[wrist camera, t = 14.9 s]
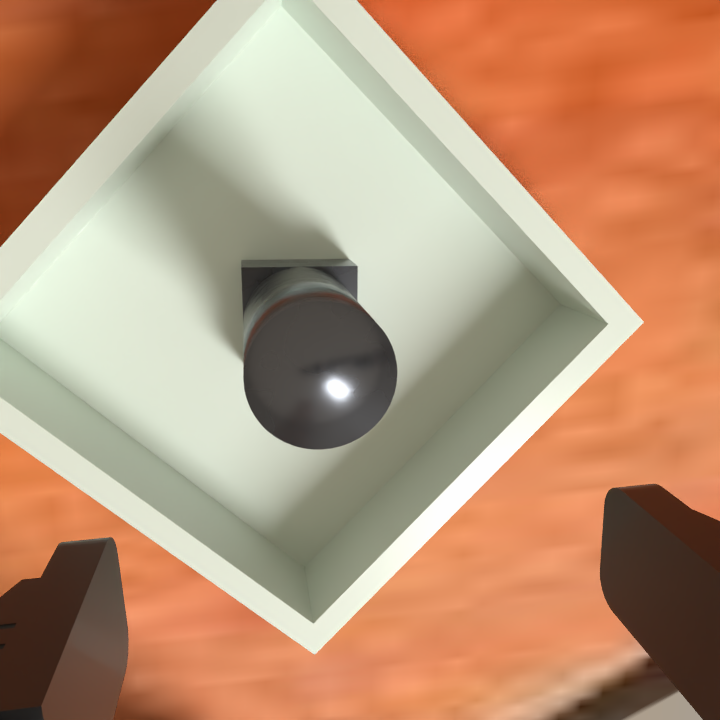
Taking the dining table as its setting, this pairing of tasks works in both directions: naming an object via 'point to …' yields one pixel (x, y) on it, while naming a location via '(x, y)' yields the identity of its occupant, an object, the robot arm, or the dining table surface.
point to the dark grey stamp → (313, 352)
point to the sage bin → (225, 308)
